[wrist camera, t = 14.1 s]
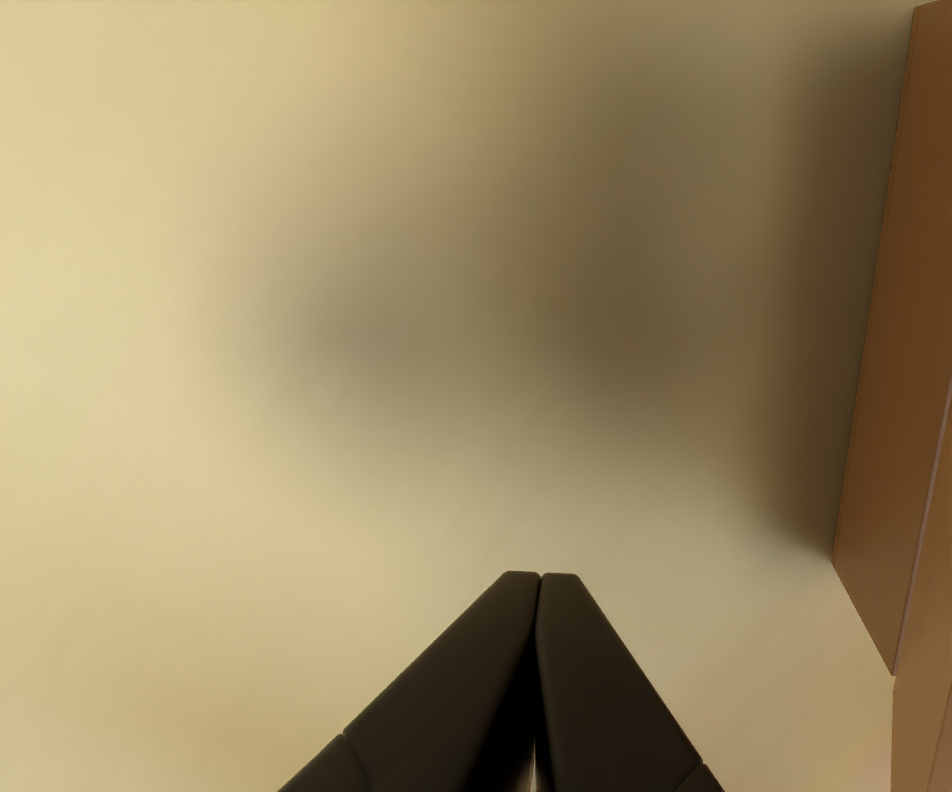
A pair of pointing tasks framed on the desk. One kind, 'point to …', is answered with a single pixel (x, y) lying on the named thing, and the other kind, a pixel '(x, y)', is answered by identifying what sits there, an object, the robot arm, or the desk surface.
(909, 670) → the flap
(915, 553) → the carton
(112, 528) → the desk surface
